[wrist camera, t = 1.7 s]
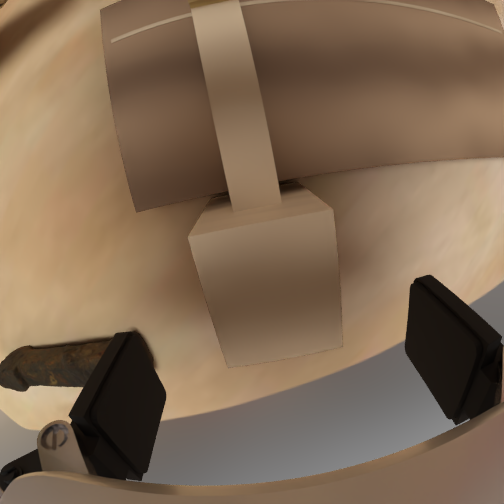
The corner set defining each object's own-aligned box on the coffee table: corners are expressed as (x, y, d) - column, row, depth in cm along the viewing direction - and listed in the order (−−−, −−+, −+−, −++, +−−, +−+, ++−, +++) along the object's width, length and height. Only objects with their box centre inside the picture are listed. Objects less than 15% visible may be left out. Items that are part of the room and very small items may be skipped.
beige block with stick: (174, 24, 12) (136, -33, 6) (260, 6, 12) (268, -61, 6) (233, 292, 19) (228, 369, 12) (311, 277, 18) (342, 347, 12)
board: (116, 23, 12) (99, 9, 10) (475, 11, 11) (494, 4, 8) (150, 202, 16) (135, 212, 14) (505, 152, 15) (527, 156, 13)
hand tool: (141, 321, 20) (120, 363, 15) (160, 363, 21) (146, 406, 17) (-3, 333, 21) (-26, 358, 16) (15, 363, 22) (-5, 390, 18)
